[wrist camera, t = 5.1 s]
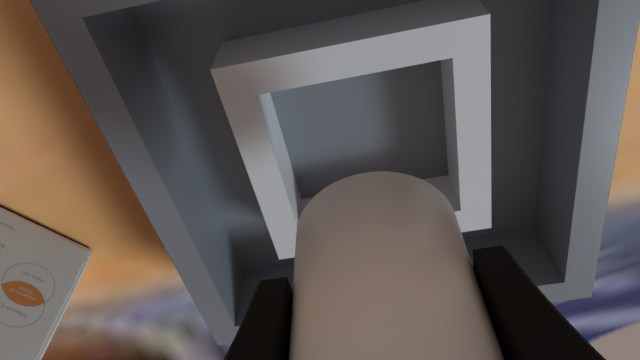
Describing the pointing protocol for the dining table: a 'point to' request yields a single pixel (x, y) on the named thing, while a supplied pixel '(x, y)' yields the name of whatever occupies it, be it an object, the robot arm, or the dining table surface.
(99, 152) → the dining table surface
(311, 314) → the bottle
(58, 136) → the dining table surface
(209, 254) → the walled box
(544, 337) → the robot arm
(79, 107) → the dining table surface
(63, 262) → the small box
